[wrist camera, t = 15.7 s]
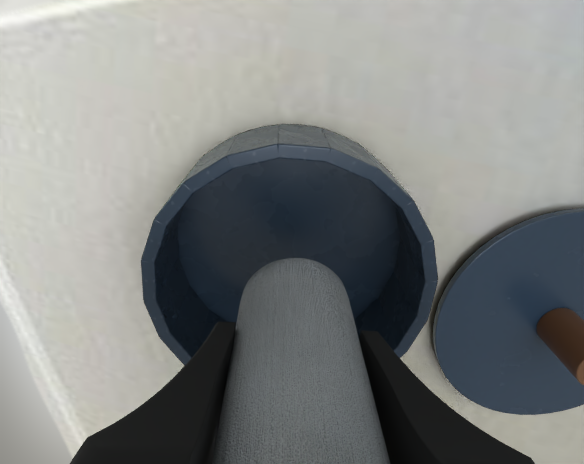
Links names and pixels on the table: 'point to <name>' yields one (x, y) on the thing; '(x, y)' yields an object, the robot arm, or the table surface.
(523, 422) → the table surface
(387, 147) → the table surface
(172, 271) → the pan
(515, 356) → the pan lid
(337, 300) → the gray hollow cylinder
